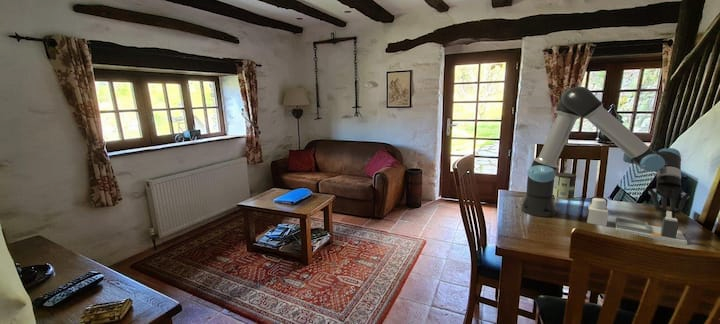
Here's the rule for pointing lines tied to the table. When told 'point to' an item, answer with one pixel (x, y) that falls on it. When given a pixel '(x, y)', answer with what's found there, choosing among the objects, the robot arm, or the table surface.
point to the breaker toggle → (669, 227)
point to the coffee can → (564, 186)
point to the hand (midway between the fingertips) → (668, 226)
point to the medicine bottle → (597, 211)
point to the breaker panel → (645, 230)
